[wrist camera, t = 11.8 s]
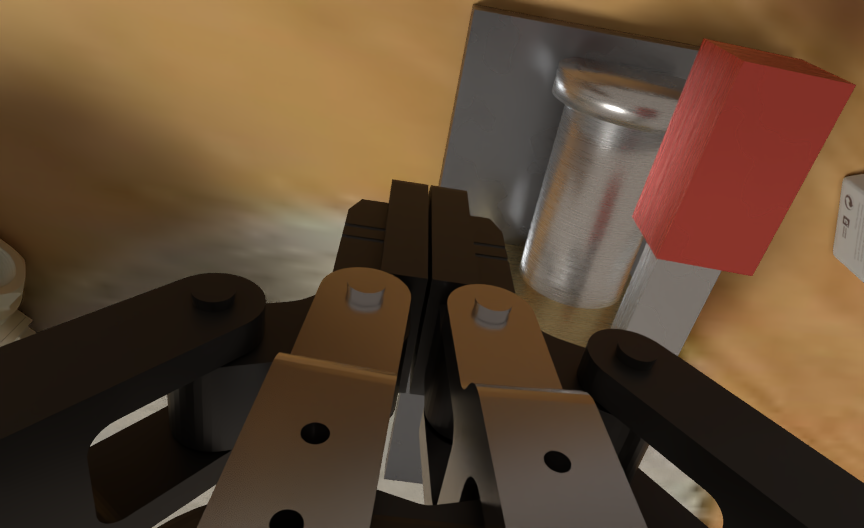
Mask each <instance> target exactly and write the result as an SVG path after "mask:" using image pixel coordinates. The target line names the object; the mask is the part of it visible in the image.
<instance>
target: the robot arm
mask: <svg viewBox="0 0 864 528" xmlns="http://www.w3.org/2000/svg"><path fill="white" fill-rule="evenodd" d="M409 373H410V392H409V394H415V395H423V396H424V409H423V414H422V419H421V423H420V428H419V441H420V454H421V466H422V479H423V492H424V504H425V505H422V504H418V503H415V502H412V501H409V500H406V499H403V498H400V497H397V496H394V495H391V494H388V493H385V492H382V491H379V490H377V485H378V479H379V474H380V468H381V463H382V457H383V452H384V446H385V441H386V435H387V429H388V424H389V418H390V417H391V416H392V415H393V413H394V410H395V406H396V401H397V395H398V393H406V388H407V383H408V378H409ZM165 395H167V397H168V406H167V407H165V408H163V409H161V410H159V411H157V412H155V413H153V414H151V415H149V416H148V417H146V418H144V419H142V420H140V421H138V422H136V423H134V424H132V425H131V426H129V427H127V428H125V429H123V430H121V431H119V432H117V433H115V434H113V435H112V436H110V437H108V438H106V439H104V440H102V441H100V442H98V443H96V444H95V445H93V446H91V447H90V445H91V443H92V442H93V440H94V439H95V437H96V436H97V435H98V434H99V433H100V432H101V431H102V430H103V429H104V428H105V427H107V426H108V425H109V424H111V423H113V422H114V421H116V420H118V419H120V418H122V417H124V416H126V415H128V414H130V413H132V412H134V411H136V410H137V409H139V408H141V407H143V406H145V405H147V404H149V403H151V402H153V401H155V400H157V399H159V398H161V397H163V396H165ZM649 445H650V446H652V447H653V448H654V449H655V450H657V451H658V452H659V453H660V454H662V455H663V456H664V457H665V458H666V459H668V460H669V461H670V462H671V463H673V464H674V465H675V466H676V467H678V468H679V469H680V470H681V471H682V472H684V473H685V474H686V475H687V476H689V477H690V478H691V479H692V480H694V481H695V482H696V483H697V484H698V485H700V486H701V487H702V488H703V489H705V490H706V491H707V492H708V493H709V494H710V495H711V496H712V497H713V498H714V499H715V501H716V502H717V504H718V505H719V507H720V509H721V512H722V515H723V528H864V483H863V482H861V481H860V480H858V479H857V478H855V477H854V476H853V475H851V474H850V473H848V472H847V471H845V470H844V469H842V468H841V467H839V466H838V465H836V464H835V463H833V462H832V461H831V460H829V459H828V458H826V457H825V456H823V455H822V454H820V453H819V452H817V451H816V450H814V449H813V448H811V447H810V446H809V445H807V444H806V443H804V442H803V441H801V440H800V439H798V438H797V437H795V436H794V435H792V434H791V433H789V432H788V431H787V430H785V429H784V428H782V427H781V426H779V425H778V424H776V423H775V422H773V421H772V420H770V419H769V418H767V417H766V416H765V415H763V414H762V413H760V412H759V411H757V410H756V409H754V408H753V407H751V406H750V405H748V404H747V403H745V402H744V401H743V400H741V399H740V398H738V397H737V396H735V395H734V394H732V393H731V392H729V391H728V390H726V389H725V388H723V387H722V386H721V385H719V384H718V383H716V382H715V381H713V380H712V379H710V378H709V377H707V376H706V375H704V374H703V373H701V372H700V371H699V370H697V369H696V368H694V367H693V366H691V365H690V364H688V363H687V362H685V361H684V360H682V359H681V358H680V357H678V356H677V355H675V354H674V353H672V352H671V351H669V350H668V349H666V348H665V347H663V346H662V345H660V344H659V343H657V342H656V341H654V340H652V339H650V338H648V337H646V336H644V335H641V334H639V333H635V332H632V331H628V330H623V329H604V330H600V331H597V332H596V333H594V334H593V335H592V336H591V337H590V338H589V340H588V342H587V345H586V348H584V347H581V346H579V345H576V344H573V343H570V342H567V341H564V340H561V339H558V338H556V337H553V336H551V335H549V334H547V333H545V332H543V331H542V330H541V329H540V326H539V323H538V321H537V318H536V315H535V313H534V311H533V309H532V307H531V306H530V305H529V304H528V303H527V302H526V301H525V300H524V299H522V298H521V297H520V296H518V295H516V294H515V289H514V284H513V280H512V275H511V270H510V265H509V261H508V256H507V251H506V249H505V242H504V237H503V233H502V231H501V230H500V229H499V228H498V227H497V226H496V225H495V224H494V223H493V222H492V220H491V219H490V218H484V217H478V216H471V215H470V209H469V201H468V193H467V191H465V190H458V189H452V188H446V187H439V186H433V185H431V187H430V190H429V195H428V185H426V184H419V183H413V182H406V181H400V180H393V179H392V185H391V191H390V198H389V203H384V202H378V201H371V200H364V199H362V200H361V201H359V202H358V203H357V204H355V205H354V206H353V207H351V208H350V209H349V210H348V214H347V218H346V222H345V226H344V230H343V234H342V238H341V242H340V246H339V249H338V253H337V257H336V261H335V265H334V269H333V272H332V273H330V274H329V275H327V276H326V277H325V278H324V279H323V280H322V282H321V283H320V286H319V288H318V290H317V293H316V295H314V296H311V297H309V298H306V299H302V300H298V301H292V302H281V303H266V299H265V295H264V293H263V291H262V290H261V288H260V287H259V286H257V285H256V284H255V283H253V282H252V281H250V280H248V279H245V278H243V277H240V276H236V275H231V274H224V273H206V274H198V275H193V276H190V277H187V278H183V279H181V280H178V281H175V282H173V283H170V284H167V285H165V286H162V287H159V288H157V289H154V290H151V291H149V292H146V293H143V294H140V295H138V296H135V297H132V298H130V299H127V300H124V301H122V302H119V303H116V304H114V305H111V306H108V307H106V308H103V309H100V310H98V311H95V312H92V313H89V314H87V315H84V316H81V317H79V318H76V319H73V320H71V321H68V322H65V323H63V324H60V325H57V326H55V327H52V328H49V329H47V330H44V331H41V332H38V333H36V334H33V335H30V336H28V337H25V338H22V339H20V340H17V341H14V342H12V343H9V344H6V345H4V346H1V347H0V528H152V527H153V526H155V525H156V524H158V523H159V522H161V521H162V520H164V519H165V518H167V517H168V516H170V515H171V514H173V513H174V512H176V511H177V510H179V509H180V508H182V507H183V506H185V505H186V504H188V503H189V502H191V501H192V500H193V499H195V498H196V497H198V496H199V495H201V494H202V493H204V492H205V491H207V490H208V489H210V488H211V487H213V486H214V485H216V484H217V485H216V487H215V489H214V491H213V493H212V496H211V498H210V500H209V502H208V504H207V505H204V506H201V507H198V508H195V509H193V510H191V511H189V512H186V513H184V514H182V515H180V516H177V517H175V518H173V519H172V520H170V521H168V522H166V523H164V524H163V525H161V526H159V527H157V528H708V527H707V526H706V525H705V524H704V523H703V522H701V521H700V520H699V519H698V518H697V517H695V516H694V515H693V514H692V513H691V512H690V511H688V510H687V509H686V508H685V507H684V506H683V505H681V504H680V503H679V502H678V501H677V500H675V499H674V498H673V497H672V496H671V495H670V494H668V493H667V492H666V491H665V490H664V489H663V488H661V487H660V486H659V485H658V484H657V483H655V482H654V481H653V480H652V479H651V478H650V477H648V476H647V475H646V474H645V473H644V472H643V471H641V470H640V469H639V468H638V467H639V465H640V462H641V460H642V458H643V456H644V454H645V452H646V450H647V448H648V446H649Z"/></svg>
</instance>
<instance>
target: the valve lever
mask: <svg viewBox="0 0 864 528" xmlns="http://www.w3.org/2000/svg"><path fill="white" fill-rule="evenodd" d="M855 86H856V85H855V84H853V83H851V82H848V81H846V80H844V79H842V78H840V77H838V76H836V75H834V74H831V73H829V72H827V71H825V70H823V69H821V68H819V67H817V66H814V65H812V64H810V63H808V62H806V61H804V60H802V59H797V58H792V57H788V56H783V55H779V54H774V53H769V52H765V51H760V50H755V49H751V48H746V47H742V46H737V45H732V44H728V43H723V42H718V41H714V40H709V39H705V38H704V39H703V41H702V44H701V46H700V49H699V51H698V53H697V56H696V58H695V61H694V63H693V66H692V68H691V71H690V73H689V76H688V78H687V81H686V83H685V86H684V88H683V91H682V93H681V96H680V98H679V101H678V103H677V106H676V108H675V111H674V113H673V116H672V118H671V121H670V123H669V125H668V128H667V130H666V133H665V135H664V138H663V140H662V143H661V145H660V148H659V150H658V153H657V155H656V158H655V160H654V163H653V165H652V168H651V170H650V173H649V175H648V178H647V180H646V183H645V185H644V188H643V190H642V193H641V195H640V197H639V200H638V202H637V205H636V207H635V210H634V212H633V215H632V218H633V219H634V221H635V223H636V224H637V226H638V228H639V230H640V231H641V233H642V235H643V236H644V238H645V240H646V242H647V243H646V246H645V248H644V250H643V253H642V255H641V258H640V260H639V262H638V265H637V267H636V269H635V272H634V274H633V276H632V279H631V281H630V283H629V286H628V288H627V290H626V293H625V295H624V297H623V300H622V302H621V304H620V307H619V309H618V311H617V314H616V316H615V318H614V321H613V323H612V325H611V328H610V329H623V330H628V331H632V332H635V333H639V334H641V335H644V336H646V337H648V338H650V339H652V340H654V341H656V342H657V343H659V344H660V345H662V346H663V347H665V348H666V349H668V350H669V351H671V352H672V353H674V354H675V355H677V356H678V355H679V353H680V351H681V349H682V347H683V345H684V343H685V341H686V339H687V337H688V335H689V333H690V331H691V329H692V327H693V325H694V323H695V321H696V319H697V317H698V316H699V314H700V312H701V310H702V308H703V306H704V304H705V302H706V300H707V298H708V296H709V294H710V292H711V290H712V288H713V286H714V284H715V282H716V280H717V278H718V276H719V274H720V272H721V271H727V272H732V273H738V274H743V275H749V276H753V274H754V272H755V270H756V268H757V266H758V265H759V263H760V261H761V259H762V257H763V255H764V253H765V252H766V250H767V248H768V246H769V244H770V242H771V241H772V239H773V237H774V235H775V233H776V231H777V230H778V228H779V226H780V224H781V222H782V220H783V219H784V217H785V215H786V213H787V211H788V209H789V207H790V206H791V204H792V202H793V200H794V198H795V196H796V195H797V193H798V191H799V189H800V187H801V185H802V184H803V182H804V180H805V178H806V176H807V174H808V173H809V171H810V169H811V167H812V165H813V163H814V161H815V160H816V158H817V156H818V154H819V152H820V150H821V149H822V147H823V145H824V143H825V141H826V139H827V138H828V136H829V134H830V132H831V130H832V128H833V126H834V125H835V123H836V121H837V119H838V117H839V115H840V114H841V112H842V110H843V108H844V106H845V104H846V103H847V101H848V99H849V97H850V95H851V93H852V92H853V90H854V88H855Z"/></svg>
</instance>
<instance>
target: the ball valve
mask: <svg viewBox="0 0 864 528" xmlns="http://www.w3.org/2000/svg"><path fill="white" fill-rule="evenodd" d="M25 275H26V265H25V259H24V258H23V257H22V256H21V255H20V254H19V253H18V252H17V251H16V250H14V249H13V248H12V247H11V246H10V245H8V244H7V243H5V242H4V241H3V240H1V239H0V347H1V346H4V345H6V344H9V343H12V342H14V341H17V340H20V339H22V338H25V337H28V336H30V335H33V334H36V332H35V331H33V330H32V329H31V328H29V324H30V323H31V322H32V321H33V320H32V319H30V318H29V317H27V316H26V315H25V314H23V313H22V312H20V311H19V310H17V309H18V307H19V305H20V303H21V301H22V296H23V289H24V284H25Z"/></svg>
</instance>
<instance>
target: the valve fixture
mask: <svg viewBox="0 0 864 528" xmlns="http://www.w3.org/2000/svg"><path fill="white" fill-rule="evenodd" d="M699 49H700V46H695V45H689V44H684V43H679V42H673V41H668V40H663V39H657V38H652V37H646V36H641V35H636V34H630V33H625V32H619V31H614V30H609V29H603V28H598V27H593V26H587V25H582V24H576V23H571V22H566V21H560V20H555V19H549V18H544V17H539V16H533V15H528V14H522V13H517V12H512V11H506V10H501V9H496V8H490V7H485V6H479V5H474V4H473V7H472V12H471V18H470V23H469V28H468V33H467V39H466V44H465V49H464V54H463V60H462V65H461V70H460V75H459V81H458V86H457V91H456V96H455V102H454V107H453V112H452V117H451V123H450V128H449V133H448V138H447V144H446V149H445V154H444V159H443V165H442V170H441V175H440V180H439V187H446V188H452V189H458V190H465V191H467V193H468V201H469V209H470V215H471V216H478V217H484V218H490V219H491V220H492V222H493V223H494V224H495V225H496V226H497V227H498V228H499V229H500V230H501V231H502V233H503V237H504V242H505V249H506V251H507V256H508V261H509V265H510V270H511V275H512V280H513V284H514V289H515V294H516V295H518V296H520V297H521V298H522V299H524V300H525V301H526V302H527V303H528V304H529V305H530V306H531V307H532V309H533V311H534V313H535V315H536V318H537V321H538V323H539V326H540V329H541V330H542V331H543V332H545V333H547V334H549V335H551V336H553V337H556V338H558V339H561V340H564V341H567V342H570V343H573V344H576V345H579V346H581V347H584V348H586V345H587V342H588V340H589V338H590V337H591V336H592V335H593V334H594V333H596V332H597V331H600V330H604V329H610V328H611V325H612V323H613V321H614V318H615V316H616V314H617V311H618V309H619V307H620V304H621V302H622V300H623V297H624V295H625V293H626V290H627V288H628V286H629V283H630V281H631V279H632V276H633V274H634V272H635V269H636V267H637V265H638V262H639V260H640V258H641V255H642V253H643V250H644V248H645V246H646V243H647V242H646V240H645V238H644V236H643V235H642V233H641V231H640V230H639V228H638V226H637V224H636V223H635V221H634V219H633V218H632V215H633V212H634V210H635V207H636V205H637V202H638V200H639V197H640V195H641V193H642V190H643V188H644V185H645V183H646V180H647V178H648V175H649V173H650V170H651V168H652V165H653V163H654V160H655V158H656V155H657V153H658V150H659V148H660V145H661V143H662V140H663V138H664V135H665V133H666V130H667V128H668V125H669V123H670V121H671V118H672V116H673V113H674V111H675V108H676V106H677V103H678V101H679V98H680V96H681V93H682V91H683V88H684V86H685V83H686V81H687V78H688V76H689V73H690V71H691V68H692V66H693V63H694V61H695V58H696V56H697V53H698V51H699ZM409 392H410V373H409V378H408V383H407V388H406V393H399V395H398V401H397V406H396V411H395V416H394V422H393V427H392V432H391V437H390V443H389V448H388V453H387V458H386V464H385V475H384V479H389V480H397V481H405V482H412V483H420V484H423V479H422V466H421V454H420V441H419V428H420V423H421V419H422V414H423V409H424V396H423V395H415V394H409Z"/></svg>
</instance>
